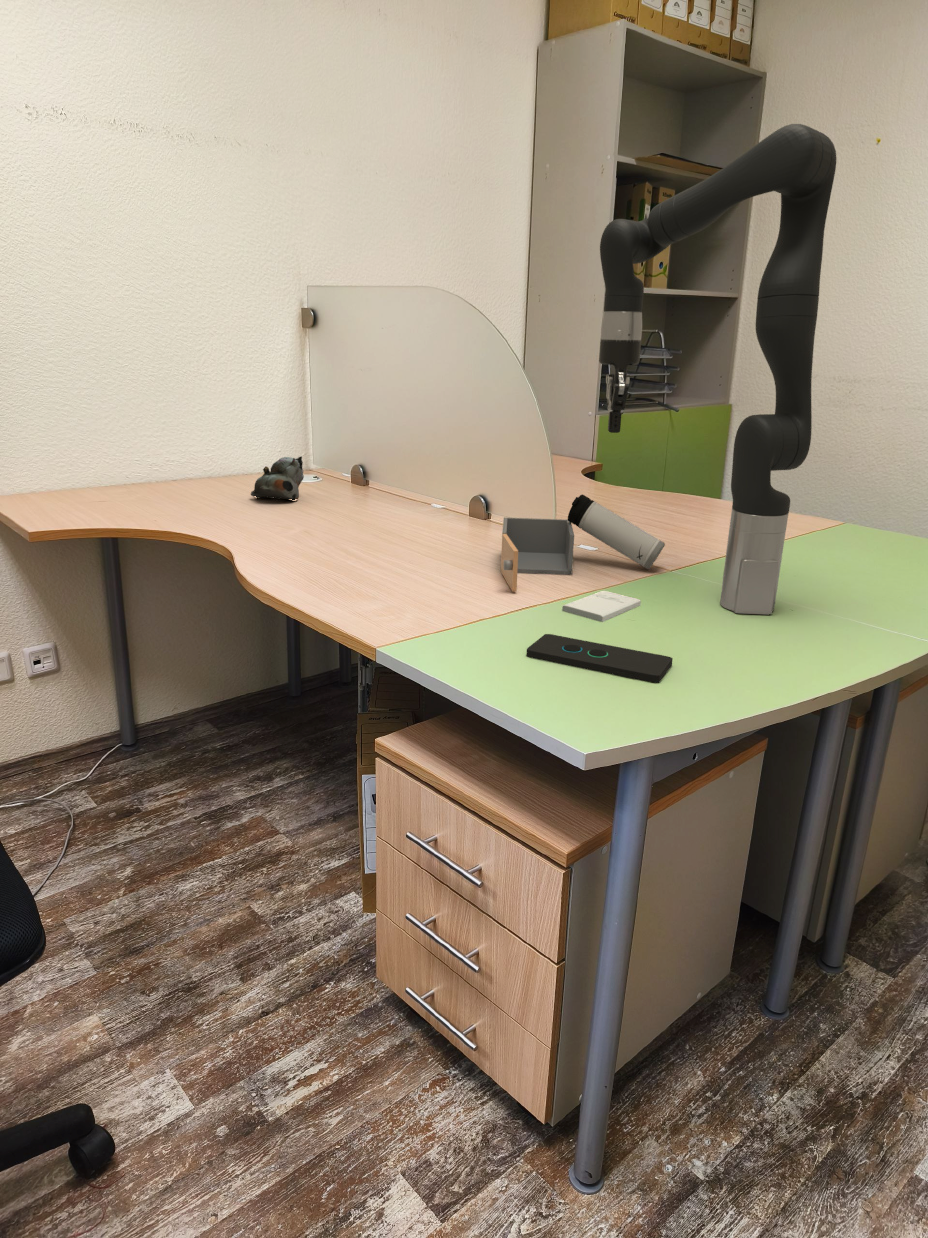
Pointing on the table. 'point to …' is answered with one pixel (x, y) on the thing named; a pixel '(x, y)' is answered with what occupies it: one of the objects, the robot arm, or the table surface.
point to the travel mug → (615, 531)
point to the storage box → (541, 544)
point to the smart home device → (601, 658)
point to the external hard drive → (601, 605)
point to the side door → (509, 562)
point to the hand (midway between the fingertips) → (613, 432)
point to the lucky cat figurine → (280, 479)
